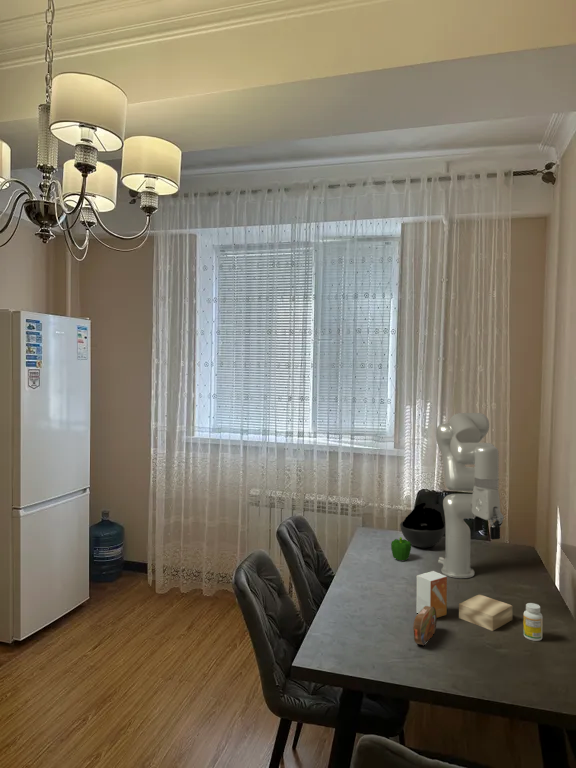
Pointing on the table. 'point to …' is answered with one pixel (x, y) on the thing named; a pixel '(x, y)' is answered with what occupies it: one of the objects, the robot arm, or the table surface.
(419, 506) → the coal bowl
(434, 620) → the tin
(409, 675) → the table surface
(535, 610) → the supplement bottle
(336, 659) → the table surface
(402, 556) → the bell pepper
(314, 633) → the table surface
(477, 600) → the birch block
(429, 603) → the small box
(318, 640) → the table surface
